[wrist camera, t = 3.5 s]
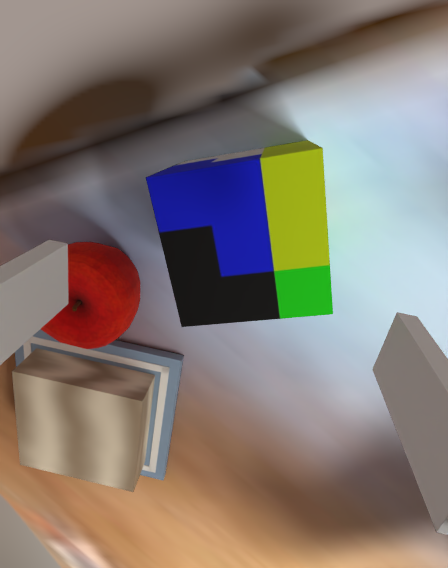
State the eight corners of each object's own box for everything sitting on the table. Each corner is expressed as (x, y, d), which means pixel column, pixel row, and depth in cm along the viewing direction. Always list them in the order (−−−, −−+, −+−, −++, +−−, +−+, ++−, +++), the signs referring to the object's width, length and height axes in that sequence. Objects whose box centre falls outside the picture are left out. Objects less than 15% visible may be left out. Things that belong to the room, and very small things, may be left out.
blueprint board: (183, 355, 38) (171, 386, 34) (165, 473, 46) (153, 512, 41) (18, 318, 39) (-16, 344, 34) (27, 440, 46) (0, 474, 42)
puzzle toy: (184, 161, 30) (145, 177, 21) (307, 140, 29) (322, 148, 20) (206, 272, 34) (181, 326, 25) (316, 260, 32) (332, 314, 23)
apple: (95, 323, 38) (54, 369, 31) (49, 247, 35) (-8, 279, 28) (171, 297, 36) (145, 340, 29) (128, 213, 33) (87, 238, 26)
